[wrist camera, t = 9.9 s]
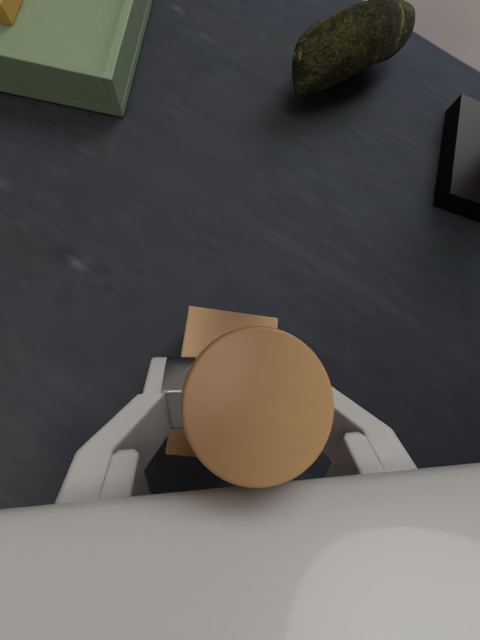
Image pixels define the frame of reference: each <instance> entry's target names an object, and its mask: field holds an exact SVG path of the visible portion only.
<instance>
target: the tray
mask: <svg viewBox="0 0 480 640" xmlns="http://www.w3.org/2000/svg"><path fill="white" fill-rule="evenodd" d="M152 2H153V0H23V1H22V4H21V6H20V9H19V11H18V14H17V16H16V19H15V22H14V24H13V26H10V25H6V24H2V23H0V92H5V93H10V94H15V95H19V96H24V97H29V98H34V99H39V100H43V101H48V102H53V103H58V104H63V105H67V106H72V107H77V108H82V109H87V110H91V111H96V112H101V113H106V114H110V115H115V116H120V117H124V113H125V109H126V105H127V101H128V97H129V93H130V89H131V85H132V81H133V77H134V73H135V69H136V65H137V61H138V57H139V54H140V50H141V46H142V42H143V38H144V34H145V30H146V26H147V22H148V18H149V14H150V10H151V6H152Z"/></svg>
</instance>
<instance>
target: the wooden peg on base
mask: <svg viewBox="0 0 480 640" xmlns="http://www.w3.org/2000/svg"><path fill="white" fill-rule="evenodd" d="M277 326H278V318H273V317H266V316H258V315H251V314H244V313H237V312H230V311H222V310H215V309H208V308H201V307H194V306H189V307H188V314H187V320H186V326H185V332H184V339H183V345H182V351H181V357H196V359H195V361H194V362H193V364H192V366H191V368H190V370H189V372H188V374H187V377H186V379H185V382H184V386H183V390H182V396H181V418H182V424H183V428H179V429H171V432H170V433H169V435H168V439H167V445H166V451H165V453H166V454H169V455H180V456H192V457H197V458H198V459H199V460H200V461H201V462H202V464H203V465H204V466H205V467H206V468H207V469H209V470H210V471H211V472H212V473H213V474H215V475H216V476H218V477H219V478H221V479H223V480H225V481H227V482H229V483H232V484H235V485H238V486H242V487H248V488H266V487H273V486H277V485H280V484H283V483H285V482H288V481H290V480H292V479H294V478H295V477H297V476H298V475H300V474H302V473H303V472H304V471H305V470H306V469H307V468H309V467H310V466H311V465H312V463H313V462H314V461H315V460H316V459H317V457H318V456H319V455H320V453H321V452H322V450H323V448H324V446H325V444H326V442H327V440H328V437H329V434H330V432H331V427H332V423H333V415H334V399H333V392H332V387H331V384H330V380H329V378H328V375H327V373H326V370H325V369H324V367H323V365H322V363H321V361H320V360H319V359H318V357H317V356H316V354H315V353H314V352H313V351H312V350H311V349H310V348H309V347H308V346H307V345H306V344H305V343H303V342H302V341H301V340H299V339H298V338H296V337H295V336H293V335H291V334H289V333H287V332H285V331H282V330H279V329H277Z"/></svg>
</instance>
